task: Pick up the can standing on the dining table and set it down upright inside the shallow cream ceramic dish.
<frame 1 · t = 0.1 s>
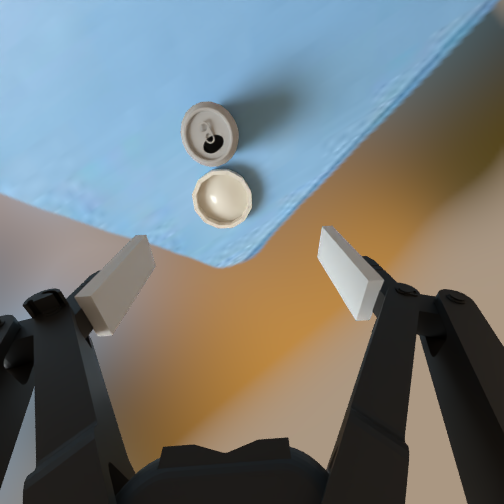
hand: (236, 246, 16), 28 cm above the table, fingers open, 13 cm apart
bowl: (223, 197, 42), on the table
can: (217, 134, 37), on the table
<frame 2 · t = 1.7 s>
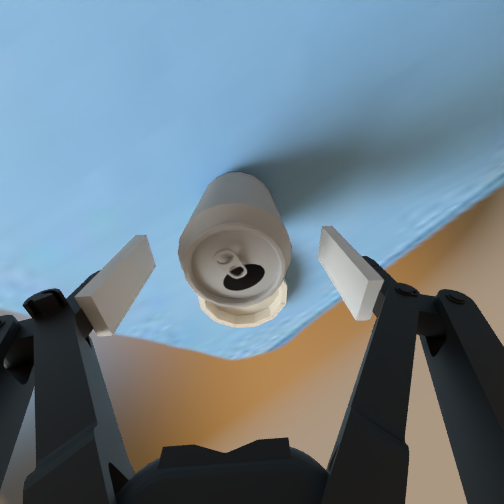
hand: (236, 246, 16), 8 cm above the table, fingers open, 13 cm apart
bowl: (242, 285, 28), on the table
can: (237, 206, 23), on the table
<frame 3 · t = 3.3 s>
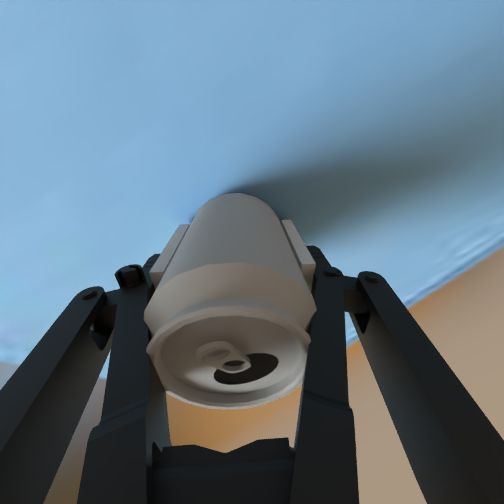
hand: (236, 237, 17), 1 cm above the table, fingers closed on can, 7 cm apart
can: (236, 233, 18), on the table, touching gripper
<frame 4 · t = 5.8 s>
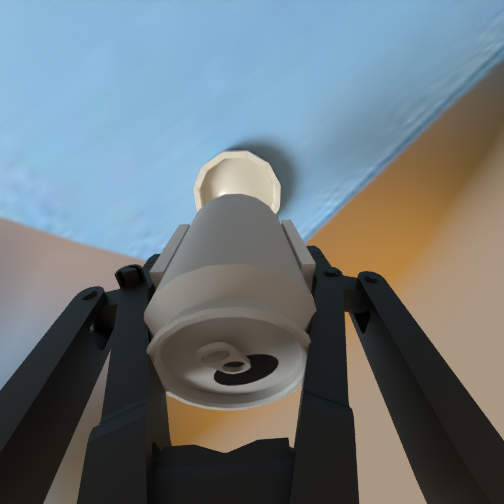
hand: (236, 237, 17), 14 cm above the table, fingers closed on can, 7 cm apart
bowl: (238, 193, 29), on the table
can: (236, 233, 18), point 13 cm above the table, touching gripper
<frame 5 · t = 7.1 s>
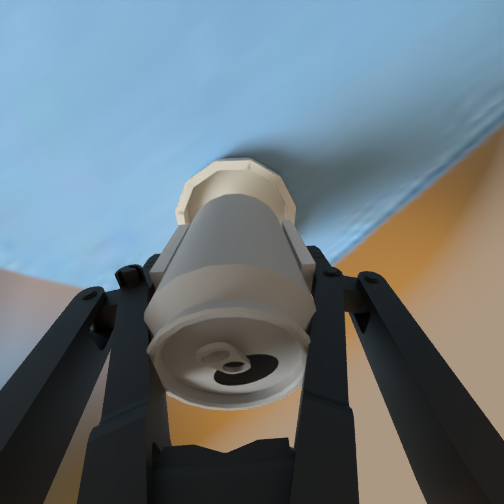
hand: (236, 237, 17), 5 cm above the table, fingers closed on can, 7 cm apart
bowl: (237, 214, 22), on the table
can: (236, 233, 18), point 4 cm above the table, touching gripper
when the fingers open (4 cm above the table, at t = 8.2 s): can drops 3 cm, resting on bowl.
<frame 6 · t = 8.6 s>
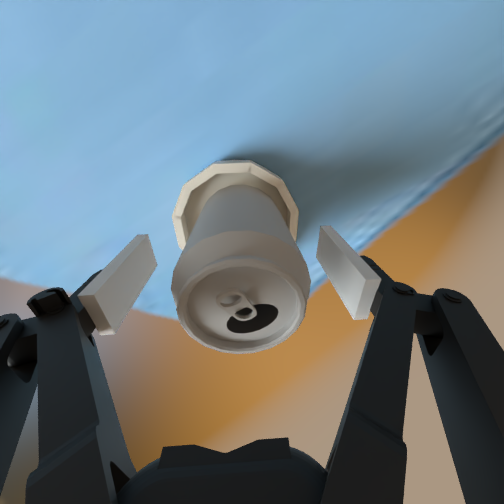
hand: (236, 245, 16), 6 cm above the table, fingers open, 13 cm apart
bowl: (237, 219, 21), on the table
can: (240, 221, 20), point 1 cm above the table, touching bowl
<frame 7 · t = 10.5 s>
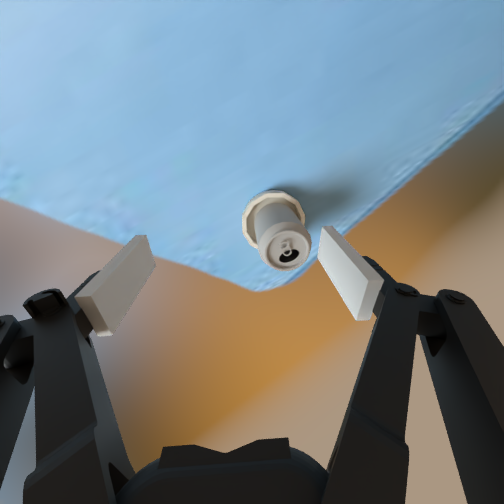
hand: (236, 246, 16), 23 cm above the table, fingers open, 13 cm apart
bowl: (271, 220, 39), on the table
can: (274, 221, 39), point 1 cm above the table, touching bowl
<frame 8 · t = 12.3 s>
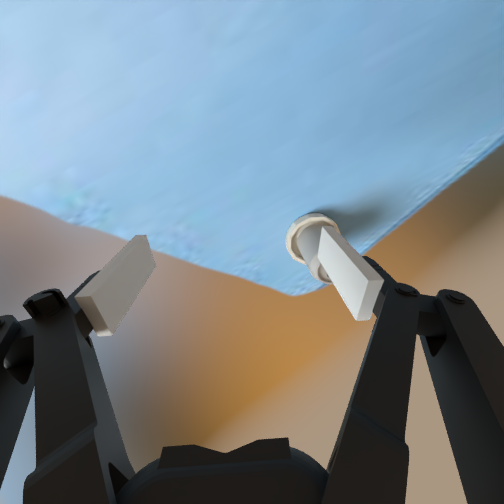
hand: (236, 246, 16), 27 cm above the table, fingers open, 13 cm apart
bowl: (310, 237, 46), on the table
can: (312, 238, 46), point 1 cm above the table, touching bowl
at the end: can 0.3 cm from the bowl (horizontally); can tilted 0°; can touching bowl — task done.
